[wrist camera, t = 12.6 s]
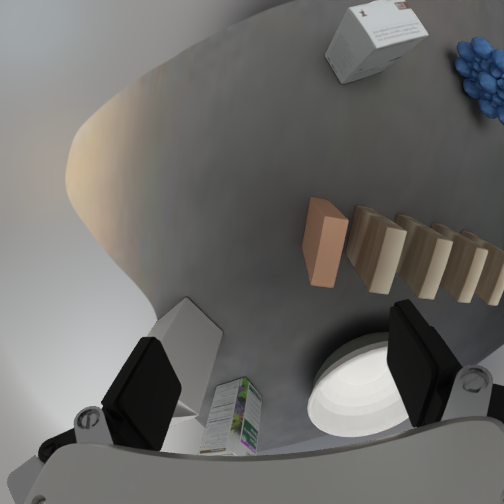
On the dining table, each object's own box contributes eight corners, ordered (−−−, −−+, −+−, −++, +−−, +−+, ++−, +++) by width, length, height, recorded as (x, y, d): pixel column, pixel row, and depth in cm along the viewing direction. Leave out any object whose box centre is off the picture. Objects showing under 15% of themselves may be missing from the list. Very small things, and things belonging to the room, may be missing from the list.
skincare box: (341, 86, 26) (376, 53, 15) (322, 54, 25) (344, 6, 14) (384, 71, 25) (433, 38, 13) (365, 39, 24) (403, -5, 12)
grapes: (497, 121, 24) (555, 122, 13) (470, 132, 26) (532, 134, 14) (465, 45, 21) (516, 24, 10) (434, 51, 22) (487, 24, 11)
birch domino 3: (443, 224, 30) (488, 250, 21) (431, 267, 32) (469, 302, 23) (432, 221, 30) (476, 247, 21) (420, 265, 32) (457, 301, 23)
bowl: (315, 410, 43) (319, 447, 35) (291, 331, 37) (293, 372, 29) (416, 380, 39) (431, 414, 32) (418, 293, 34) (445, 325, 26)
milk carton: (224, 331, 38) (190, 446, 20) (191, 353, 40) (149, 457, 22) (187, 295, 37) (126, 402, 19) (156, 321, 39) (95, 419, 21)
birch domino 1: (371, 207, 31) (407, 231, 21) (360, 255, 33) (388, 294, 23) (356, 204, 31) (387, 227, 21) (345, 253, 33) (369, 292, 23)
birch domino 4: (470, 232, 30) (514, 257, 21) (458, 272, 32) (497, 305, 23) (461, 229, 30) (506, 255, 21) (449, 270, 32) (487, 304, 23)
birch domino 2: (410, 216, 30) (453, 241, 21) (398, 261, 33) (433, 299, 23) (397, 213, 31) (437, 238, 21) (385, 259, 33) (418, 297, 23)
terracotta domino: (301, 247, 33) (310, 285, 24) (310, 196, 31) (324, 216, 22) (318, 249, 33) (333, 287, 24) (327, 199, 31) (348, 220, 21)
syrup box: (263, 396, 42) (257, 471, 29) (233, 405, 44) (220, 475, 30) (245, 375, 41) (233, 453, 27) (214, 385, 42) (195, 458, 28)
